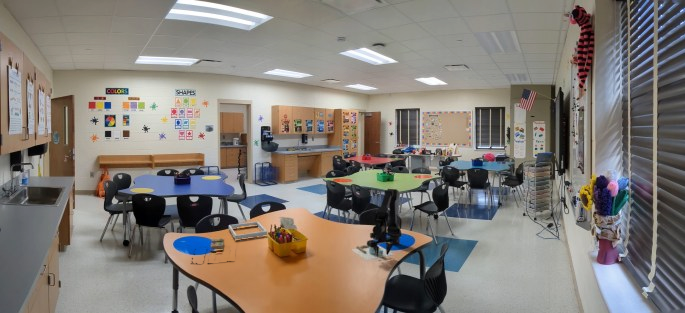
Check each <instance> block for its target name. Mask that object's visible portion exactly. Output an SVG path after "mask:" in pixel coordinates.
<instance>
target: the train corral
mask: <svg viewBox="0 0 685 313" xmlns="http://www.w3.org/2000/svg"><path fill="white" fill-rule="evenodd" d="M249 225H257V226H258V227H259V228H260V229H261V230H262V231H263V232H261V231H257V232H250V233H244V234H243V233H242V234H237V233H236V232H235V230H233V229H232V228H237V227H241V226H249ZM258 227H257V228H258ZM229 229H230V231H231V233H232V234H233V236H234V238H235V239H242V238H248V237H257V236H263V235H267V236H268V230H267V229H266V228H265V227H264V226H263V225H262V224H261V223H260V222H259V221H251V222H245V223H244V222H243V223H236V224H229V225H228V230H229ZM230 231H229V232H230ZM231 233H230V234H231ZM232 234H231V235H232ZM233 236H232V237H233ZM234 238H233V239H234ZM235 239H234V240H235Z"/></svg>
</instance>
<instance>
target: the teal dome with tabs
mask: <svg viewBox="0 0 685 313" xmlns="http://www.w3.org/2000/svg"><path fill="white" fill-rule="evenodd" d="M379 246H380V245H379ZM379 246H378V247H379ZM369 254H371V255H376V253H375V251H374V249H373V248H371V247H369ZM378 254H379V255H382V254H383V250H381V249H379V253H378Z"/></svg>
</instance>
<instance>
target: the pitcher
mask: <svg viewBox="0 0 685 313" xmlns="http://www.w3.org/2000/svg"><path fill="white" fill-rule="evenodd" d="M294 222H295V218H292V217H285V216H280V217H279V223H280V225H279V227H280V226H281V225H283V226H282V228H285V229H295V230H297V231H298V228H297V225H296V223H294Z"/></svg>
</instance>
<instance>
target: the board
mask: <svg viewBox="0 0 685 313" xmlns="http://www.w3.org/2000/svg"><path fill="white" fill-rule="evenodd" d="M378 246H379V248H380V249H381V250H383V254H382V255H379V254H378V257H377V256H376V255H371V254H369V247H367V248H362V249H363V250H365V251H366V253H363V252H361V251H360V250H358V249H356V248H353V249H351V251H353V252H354V253H355V254H357V255H359V256H360V257H361V258H362V259H364V260H366V261H369V260H374V259H378V258H384V257H389V256H394V255H395V253H393V252H391V251H390V252H389V254H388V255H387V254H386V248H384V247H383V246H380V244H378Z"/></svg>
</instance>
